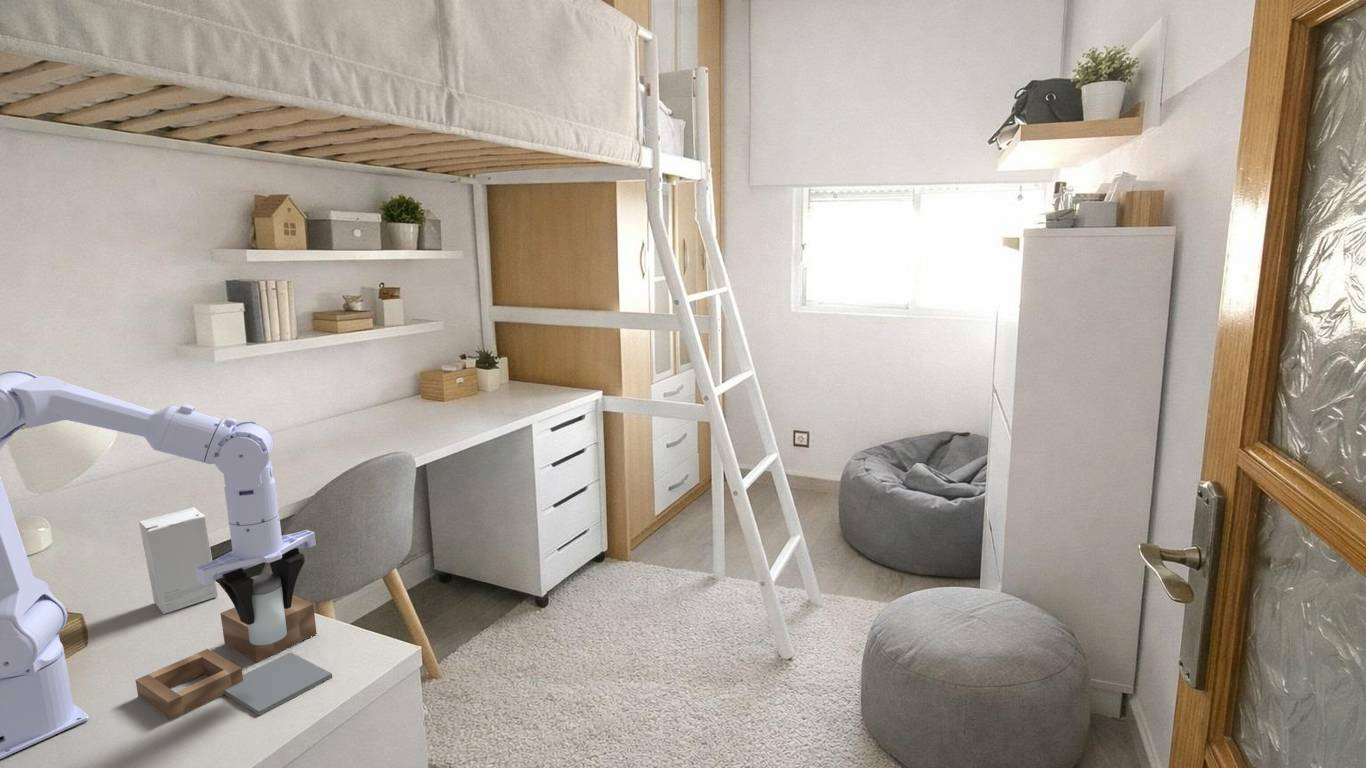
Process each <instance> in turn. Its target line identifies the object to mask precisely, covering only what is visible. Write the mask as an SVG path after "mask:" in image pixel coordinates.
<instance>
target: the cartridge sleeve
mask: <svg viewBox="0 0 1366 768" xmlns="http://www.w3.org/2000/svg"><path fill="white" fill-rule="evenodd" d="M203 674H205V675H206V676H208V677H206V678H203V679H202V680H199V681H197V682H195V683H193V684H190V685H189V686H186V687H184V688H182V689H180V690H178V691H175V690H173V689H172V688H174V687H177V686H179V685H181V684H184V683H185V682H187V681H190V680H193V679H194V678H196V677H199V676H201V675H203ZM243 675H244V674H243V669H242V667H241V666H239V665H237V664H235V663H234V662H231V661H230V660H229V659H227V658H224V657H223V656H222V655H219V654H217V653H216V652H214V651H212V650H211V649H208V648H206V649H204V650H202V651H199V652H197V653H195V654H192V655H189V656H188V657H186V658H183V659H181V660H179V661H176V662H174V663H171V664H169V665H166V666H165V667H163V668H159V669H158V670H155V671H152V672H150V673H148V674H145V675H143V676H142V677H141V676H140V677H139V678H137V679H135V686H136V691H137V692H136V693H137V697H138V698H139V699H141V700H142V701H143V702H145V703H146V704H148V705H149V706H151V707H152V708H153V709H154V710H156V711H157V712H159V713H160V714H162V715H163V716H165V717H166V718H168V719H169V720H170V721H173V720H174V719H176V718H179V717H180V716H183V715H184V714H186V713H188V712H191V711H193V710H195V709H197V708H199V707H202V706H203V705H205V704H207V703H209V702H212V701H213V700H215V699H218V698H219V697H221V696H224V695H225V693H224V690H225V689H227V688H229V687H231V686H234V685H236V684H238V683H240V682H242V681H243Z"/></svg>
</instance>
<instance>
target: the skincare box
mask: <svg viewBox="0 0 1366 768" xmlns="http://www.w3.org/2000/svg"><path fill="white" fill-rule="evenodd" d="M206 519H207V518H206V515H204V514H203V513H202V512H200V511H199V510H198V509H197V508H196V506H195V507H194V506H193V507H190V508H185V509H181V510H178V511H174V512H171V513H170V512H169V513H167V514H163V515H160V516H156V517H151V518H148V519H144V520H139V529H140V534H141V540H142V546H143V549H144V554H145V561H146V566H147V570H148V571H147V572H148V575H149V576H148V577H149V582H150V587H151V592H152V597H153V602H154V603H155V605H156V606H157V608H158V609H159V610H160V611H161V612H162V614H163V615H165V614H166V615H167V614H169V613H172V612H175V611H178V610H180V609H183V608H186V607H190V606H193V605H195V604H199V603H201V602H205V601H207V600H211V599H213V598H217V597H219V592H218V587H217V581H216V580H214V582H213V583H212V584H209V585H207V586H205V585H202V584H200V583H198V582H197V576H196V569H195V568H197V567H200V566H202V565H205V564H207V563H209V562H211V561H213V557H212V552H211V545H210V539H209V533H208V531H209V530H208V527H207V520H206Z"/></svg>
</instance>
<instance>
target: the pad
mask: <svg viewBox="0 0 1366 768" xmlns="http://www.w3.org/2000/svg"><path fill="white" fill-rule="evenodd" d="M331 677H332V678H333V673H332V672H330V671H328V670H326V669H324V668H323V667H320V666H318V665H316V664H314V663H312V662H310V661H309V660H307V659H304V658H303V657H301V656H299V655H297V654H295V653H293V652H292V651H291V652H290V651H289V652H288V653H286V654H284V655H282V656H280V657H278V658H275V659H274V660H272V661H269V662H267V663H265V664H263V665H261V666H258V667H256V668H254V669H252V670H250V671H248V672H246V673H244V674H243V681H242V682H240V683H238V684H236V685H234V686H231V687H229V688H227V689H225V690H224V693H225V694H224V695H225V696H227V697H229V698H231V699H232V700H234V701H235V702H237V703H238V704H240V705H242V706H243V707H245V708H246V709H248V710H250V711H252V712H254V714H256V715H258V716H262V715H263V714H265V713H268V712H269V711H272V710H273V709H275V708H276V707H278V706H280V705H283V704H285V703H286V702H288V701H290V700H292V699H294V698H296V697H298V696H300V695H301V694H303V693H305V692H307V691H309V690H311V689H313V688H315V687H317V686H318V685H321V684H323V683H324V682H326V681H328V680H330V679H331ZM329 678H330V679H329ZM327 679H328V680H327ZM323 681H324V682H323ZM322 682H323V683H322ZM320 683H321V684H320Z"/></svg>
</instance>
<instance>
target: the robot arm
mask: <svg viewBox="0 0 1366 768" xmlns="http://www.w3.org/2000/svg"><path fill="white" fill-rule="evenodd" d="M195 410H196V406H194V405H191V404H188V403H183V404H182V405H181V406H180V407H179V406H175V405H170V406H166V407H164V408H163V409H160V410H154V409H150V408H147V407H144V406H140V405H138V404H135V403H133V402H132V403H131V402H128V401H125V400H122V399H119V398H115V397H113V396H110V395H106V394H104V393H101V392H98V391H93V390H91V389H88V388H84V387H82V386H78V385H76V384H72V383H71V382H70V383H69V382H67V381H64V380H62V379H59V378H57V377H54V376H48V375H43V374H42V375H40V376H39V375H37V374H35V373H33V372H30V371H26V370H22V369H21V370H19V369H14V370H7V371H4V372H1V373H0V450H1V449H2V448H3V447H4V446H5V445H6V444H7V442H9V440H10V439H11V438H12V437H13V436H14V434H15V433H16V432H17V431H19V430H21V429H22V428H24V427H25V429H33V428H37V427H39V426H40V427H41V426H45V425H49V424H53V423H57V422H61V421H62V422H63V421H69V422H70V421H71V422H74V423H79V424H84V425H88V426H93V427H98V428H102V429H106V430H110V431H111V430H112V431H116V432H120V433H126V434H130V435H135V436H139V437H143V438H145V440H146V441H147V443H148V444H149V445H150V447H151V448H152V450H154V451H156V452H161V453H164V454H167V455H168V454H169V455H173V456H176V457H180V458H184V459H188V460H190V461H191V460H192V461H196V462H200V463H203V464H204V463H205V464H208V465H215V466H216V468H217V469H218V470H219V471H220V472H221V473H222V474H223V479H224V496H225V505H226V512H227V518H228V519H227V520H228V527H229V533H230V541H231V549H232V550H231V551H229V552H227V553H225V554H223V555H221V556H219V557H217V558H216V559H212V561H211V562H209V563H207V564H205V565H202V566H200V567H197V568H195V569H196V576H197V582H198V583H200V584H202V585H205V586H207V585H209V584H212V583H213V582H214V580H216V583H217V584H218V585H219V586H220V587H221V588H222V589H223V591H224V592H225V593H226V595H227V596H228V597H229V599H230V600H231V602H232V604H233V606H234V607H235V608H236V610H237V612H238V615H239V618H240V621H241V622H243V623H245V624H247V625H251V624H253V623H254V611H253V605H252V587H253V580H254V579H251V577H249V576H247V572H244V570H247V569H249V568H253V567H254V566H258V565H259V564H263V563H266V564H269V566H270V568H271V569H270V570H271V572H272V573H271V574H278V575H280V576H281V584H282V593H283V602H284V608H285V609H288V608H290V607H291V604H292V597H293V595H294V590H295V586H296V583H297V581H298V577H299V574H300V572H301V570H302V568H303V566H304V564H305V562H306V559H305V554H303V553H301V552H300V550H301V549H304V548H308V549H309V548H310V549H311V548H312V547H313V548H314V547H315V546H317V543H316V534H315V531H311V530H308V529H305V530H301V531H297V532H294V533H290V534H283V535H282V528H281V520H280V511H279V502H278V501H279V500H278V493H277V486H276V479H275V477H274V467H273V464H272V463H273V462H272V460H270V459H269V458H270V457H271V455H272V453H273V451H274V445H275V443H274V442H275V441H274V437H273V435H272V433H271V432H270V431H269V429H268V428H266V427H265V426H264V425H261V424H259V423H257V422H256V421H253V420H243V421H240V422H238V421H237V419H236V418H232V417H228V418H226V419H223V418H219V417H215V416H213V415H209V414H205V413H201V412H198V411H195ZM67 620H68V612H67V609H66V607H65V605H64V604H63V603H62V601H60V600H58V599H57V598H56V597H55V596H54V595H53V593H52V591H51V590H50V586H49V584H48V583H47V582H45V581H43V580H41V579H38V577H35V575H34V572H33V570H32V566H31V563H30V560H29V558H28V554H27V551H26V548H25V545H24V542H23V539H22V536H21V534H20V531H19V527H18V524H17V521H16V518H15V515H14V512H13V509H12V506H11V503H10V500H9V497H8V494H7V492H6V489H5V485H4V482H3V479H2V476H1V475H0V760H1V759H4V758H6V757H8V756H10V755H13V754H14V753H16V752H20V751H22V750H24V749H26V748H28V747H30V746H32V745H33V746H34V744H37V743H39V742H41V741H44V740H46V739H48V738H50V737H53V736H55V735H56V734H57V735H58V734H60V733H61V732H64V731H66V730H68V729H70V728H73V727H75V726H78V725H80V724H82V723H84V722H86V721H88V720H89V717H90V716H89V714H88V713H86V712H85V711H84V710H83V709H81V708H80V707H79V706H77V705H76V704H75V703H74V700H73V694H72V688H71V683H70V677H69V671H68V666H67V661H66V655H65V650H64V645H63V643H62V642H61V639H60V632H62V630H63V629H64V628H65V626H66V624H67Z"/></svg>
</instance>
